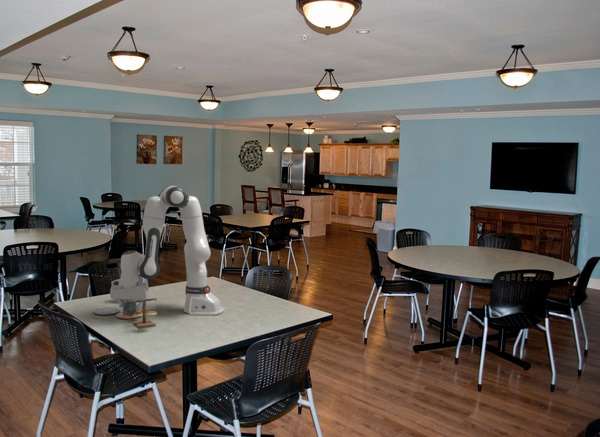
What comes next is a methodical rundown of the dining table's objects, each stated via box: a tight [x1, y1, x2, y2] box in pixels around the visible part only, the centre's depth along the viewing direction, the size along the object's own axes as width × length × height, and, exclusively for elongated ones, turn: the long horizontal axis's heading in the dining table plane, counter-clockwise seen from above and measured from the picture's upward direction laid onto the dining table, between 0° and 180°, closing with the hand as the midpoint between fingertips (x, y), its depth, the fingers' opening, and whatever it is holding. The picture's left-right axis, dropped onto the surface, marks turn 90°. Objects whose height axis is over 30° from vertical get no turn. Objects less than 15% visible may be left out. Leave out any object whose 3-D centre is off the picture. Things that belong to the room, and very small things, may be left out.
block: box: [122, 302, 137, 316], centre depth 273 cm, size 5×5×6 cm
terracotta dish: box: [116, 311, 141, 320], centre depth 274 cm, size 13×13×1 cm
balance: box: [132, 297, 158, 330], centre depth 258 cm, size 23×8×15 cm, turn 37°
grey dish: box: [93, 306, 121, 316], centre depth 280 cm, size 13×13×1 cm
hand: (129, 307), depth 273 cm, fingers open, 8 cm apart
